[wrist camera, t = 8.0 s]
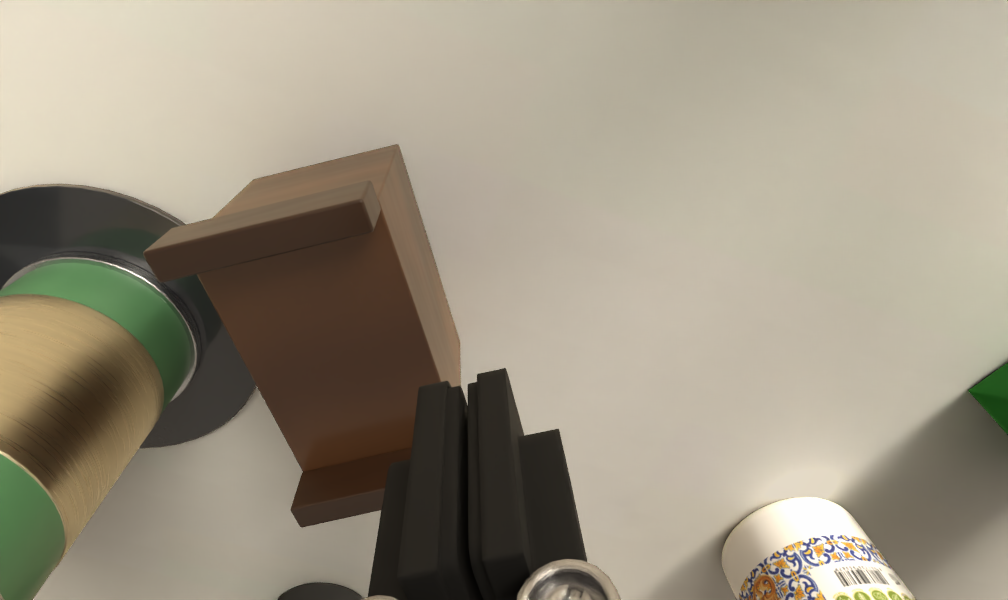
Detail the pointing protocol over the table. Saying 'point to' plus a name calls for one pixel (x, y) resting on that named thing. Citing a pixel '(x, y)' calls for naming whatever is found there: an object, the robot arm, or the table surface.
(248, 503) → the table surface
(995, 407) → the milk carton
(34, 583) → the can
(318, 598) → the drinking cup
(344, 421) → the rest
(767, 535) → the bath foam
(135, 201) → the coaster
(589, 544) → the table surface
